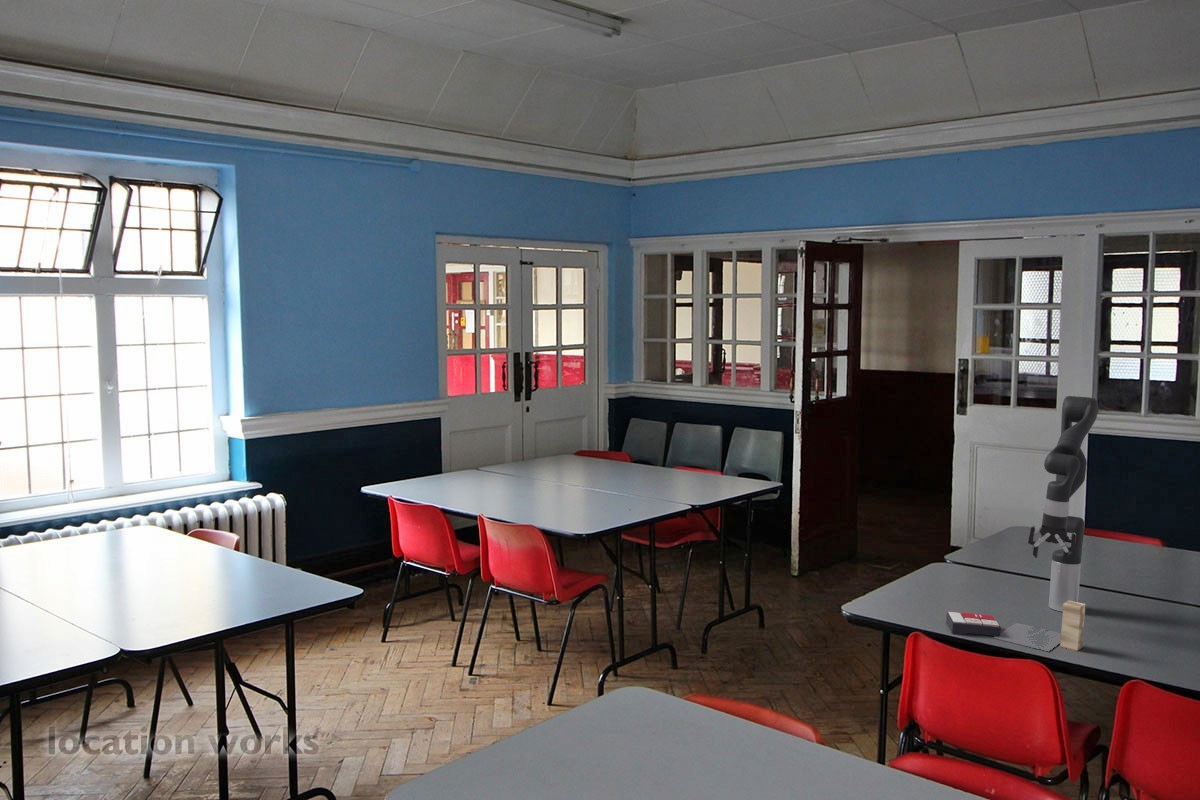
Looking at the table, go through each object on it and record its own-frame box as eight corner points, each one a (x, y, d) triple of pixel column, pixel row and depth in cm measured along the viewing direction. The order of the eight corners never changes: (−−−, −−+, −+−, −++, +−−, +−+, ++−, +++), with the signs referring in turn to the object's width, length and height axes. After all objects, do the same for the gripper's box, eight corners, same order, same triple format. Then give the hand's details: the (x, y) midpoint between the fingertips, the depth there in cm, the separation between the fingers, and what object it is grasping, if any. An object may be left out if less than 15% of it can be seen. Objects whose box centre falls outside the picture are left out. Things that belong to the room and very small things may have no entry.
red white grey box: (1001, 625, 314) (952, 620, 316) (1000, 638, 314) (951, 633, 317) (993, 614, 324) (946, 609, 327) (992, 627, 325) (945, 622, 327)
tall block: (1065, 642, 310) (1068, 600, 308) (1082, 647, 307) (1085, 603, 305) (1060, 647, 306) (1063, 603, 305) (1077, 651, 303) (1080, 607, 301)
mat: (1016, 623, 328) (1016, 622, 328) (1069, 636, 316) (1069, 635, 316) (993, 638, 313) (993, 637, 313) (1048, 652, 302) (1048, 651, 302)
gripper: (1080, 514, 324) (1073, 561, 327) (1033, 507, 331) (1027, 553, 333) (1078, 519, 318) (1072, 566, 320) (1031, 511, 325) (1025, 558, 327)
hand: (1049, 559), depth 327 cm, fingers open, 8 cm apart
